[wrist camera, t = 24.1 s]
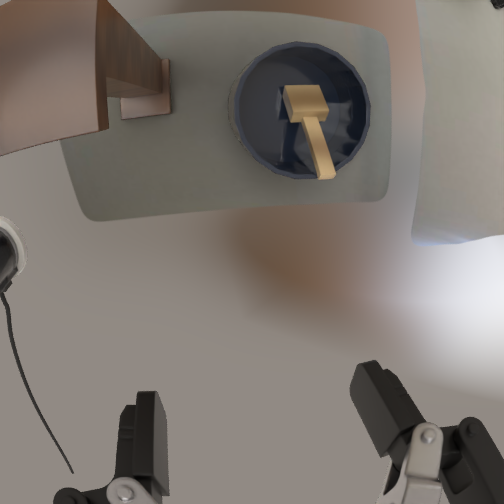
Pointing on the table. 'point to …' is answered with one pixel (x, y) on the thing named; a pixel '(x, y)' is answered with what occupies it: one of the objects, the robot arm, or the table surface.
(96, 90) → the stand
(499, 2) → the phone
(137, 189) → the table surface
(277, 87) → the pot
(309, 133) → the t-shaped wooden block
